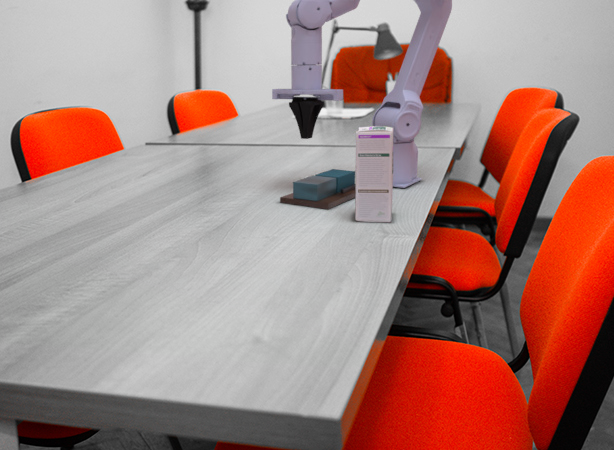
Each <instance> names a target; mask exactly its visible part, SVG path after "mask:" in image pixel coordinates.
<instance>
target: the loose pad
mask: <svg viewBox="0 0 614 450" xmlns="http://www.w3.org/2000/svg"><path fill="white" fill-rule="evenodd" d="M314 176H322V177H331V178H336V193H339V192H341V189H343V188H345V187H348V186H350V185H353V184H355V183H356V170H347V169H346V170H345V169H338V168H337V169H336V168H332V169H329V170H326V171H325V170H324V171H323V172H320V173H317V174H315V175H314Z"/></svg>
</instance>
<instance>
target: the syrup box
mask: <svg viewBox="0 0 614 450" xmlns="http://www.w3.org/2000/svg"><path fill="white" fill-rule="evenodd" d="M355 183H356V184H355V198H354V199H355V202H354V203H355V205H354V206H355V207H354V208H355V209H354V210H355V212H354V213H355V218H354V221H356V222H365V223H368V222H369V223H391V222H392V216H393V189H394V187H393V127H386V126H373V125H370V126H359V127H358V129H356V131H355Z"/></svg>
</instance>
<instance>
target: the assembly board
mask: <svg viewBox="0 0 614 450" xmlns="http://www.w3.org/2000/svg"><path fill="white" fill-rule="evenodd" d="M355 184H356V182H355ZM355 184H353V185H350V186H348V187H345V188H343V189H341V192H339V193H336V178H331V177H322V176H315V175H310V176H307V177H304V178H301V179H297V180H294V181H293V182H292V192H291V193H289V194H285V195H282V196H280V197H279V203H282V204H289V205H294V206H302V207H310V208H317V209H323V210H330V209H332V208H335V207H337V206H340V205H342V204H344V203H346V202H348V201H351V200H353V199H355Z"/></svg>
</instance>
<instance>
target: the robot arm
mask: <svg viewBox="0 0 614 450" xmlns="http://www.w3.org/2000/svg"><path fill="white" fill-rule="evenodd" d="M360 1H361V0H294V1H292V2H291V3H290V5H289V7H288V10H287V13H286V14H285V19H286V22H287V24H288V25H289V27H290V29H291V31H290V32H291V33H290V35H291V36H290V37H291V38H290V59H291V60H290V67H291V68H290V71H291V72H290V73H291V74H290V75H291V79H290V80H291V88H272V90H271V92H272V93H271V95H272V96H271V97H272V100H291V101H289V102H288V107H289V108H290V110H291V113H292V114H293V116H294V118H295V121H296V123H297V127H298V130H299V135H300V139H302V140H303V139H305V140H309V139H312V138H313V135H314V130H315V126H316V124H317V120H318V118H319V115H320V113H321V111H322V109H323V107H324V105H325V101H333V102H339V101H343V100H344V89H337V88H336V89H334V88H323V31H322V30H323V26H324V25H325V23H328V22H330V21H332V20H334V19H337V18H339V17H341V16H343V15H345V14H347V13H350V12H352V11H355V10H356V9H357V8H358V6H359V4H360ZM413 1H414V3H415V4H416V5H417V7H418V9H419V11H420V14H419V17H418V20H417V22H416V25H415V28H414V30H413V34H412V36H411V39H410V42H409V44H408V47H407V50H406V52H405V55H404V57H403V60H402V64H401V67H400V69H399V72H398V75H397V77H396V80H395V83H394V86H393V89H392V90H391V91H390V92H389V93H388V94H387V95H385V96H384V98H383V100H382V103H381V105H380V106H379V107H378V109H376V110H375V112H374V113H373V114H372V115H373V116H372V120H371V126H386V127H393V188H401V189H405V188H407V187H410V186H411V185H414V184H416V183H418V182H420V181H422V177H418V165H419V164H418V163H419V161H418V160H419V149H418V146H417V144H416V143H415V138H416V137H417V136H418V134H419V133H420V130H421V128H422V113H423V110H424V105H423V103H422V100H421V98H420V96H421V94H422V91H423V88H424V87H425V83H426V80H427V77H428V75H429V72H430V70H431V67H432V64H433V62H434V59H435V56H436V54H437V50H438V49H439V48H438V47H439V46H440V42H441V41H442V40H441V39H442V37H443V35H444V32H445V30H446V26H447V24H448V21H449V18H450V15H451V13H452V10H453V0H413ZM301 95H302V96H301ZM304 95H305V96H304ZM306 95H309V96H306ZM310 95H312V96H310Z"/></svg>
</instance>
